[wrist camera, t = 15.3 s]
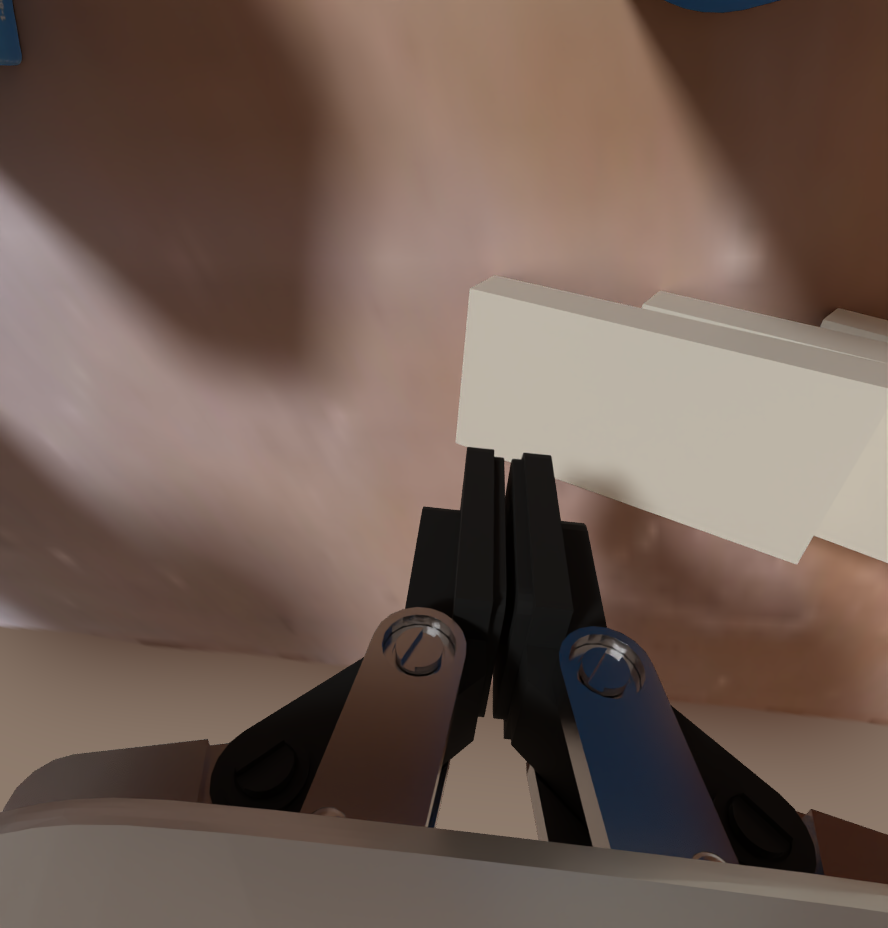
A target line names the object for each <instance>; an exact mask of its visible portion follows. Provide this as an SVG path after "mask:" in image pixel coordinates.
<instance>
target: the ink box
mask: <svg viewBox="0 0 888 928" xmlns="http://www.w3.org/2000/svg"><path fill="white" fill-rule="evenodd" d="M21 61H22V53H21V49H20V44H19V38H18V31H17V25H16V20H15V15H14V10H13V3H12V0H0V65H8V66H11V65H19V64H20V63H21Z"/></svg>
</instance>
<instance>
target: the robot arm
mask: <svg viewBox="0 0 888 928" xmlns="http://www.w3.org/2000/svg"><path fill="white" fill-rule="evenodd" d="M492 675H493V718H496V719H504V739H511V745H512V746H513V747H514V748H515V749H516V750H517V751H518V752H519V753H520V755H521V756H522V757H523V758H524V759H525V760H526V761H527V763H526V771H527V780H528V786H529V791H530V796H531V802H532V807H533V812H534V818H535V823H536V828H537V834H538V839H539V840H530V839H522V838H514V837H505V836H496V835H488V834H480V833H471V832H463V831H454V830H446V829H437V828H436V823H437V819H438V815H439V811H440V806H441V802H442V797H443V792H444V788H445V784H446V779H447V775H448V770H449V765H450V759H452V758H453V757H454V756H455V755H456V754H458V753H459V752H460V751H461V750H462V749H464V748H465V747H466V746H467V745H468V744H470V743H471V742H472V741H473V740H474V734H475V729H476V724H477V718H478V717H484V715H485V711H486V706H487V700H488V695H489V690H490V685H491V680H492ZM0 928H888V835H887V834H883V833H881V832H878V831H875V830H872V829H869V828H866V827H863V826H860V825H857V824H854V823H851V822H848V821H845V820H842V819H839V818H837V817H833V816H831V815H828V814H824V813H822V812H819V811H816V810H813V809H811V810H810V811H809V812H808V813H807V814H803V813H800V812H797V811H795V809H794V808H793V807H792V806H791V805H790V804H789V803H788V802H787V801H786V800H785V799H784V798H783V797H782V796H781V795H780V794H779V793H778V792H776V791H775V790H774V789H773V788H771V787H770V786H769V785H768V784H767V783H765V782H764V781H763V780H762V779H760V778H759V777H758V776H756V774H754V773H753V772H752V771H751V770H749V769H748V768H747V767H746V766H744V765H743V764H742V763H741V762H740V761H738V760H737V759H736V758H735V757H733V756H732V755H731V754H730V753H729V752H727V751H726V750H725V749H724V748H723V747H721V746H720V745H719V744H718V743H716V742H715V741H714V740H713V739H712V738H710V737H709V736H708V735H706V734H705V733H704V732H703V731H702V730H701V729H699V728H698V727H697V726H695V725H694V724H693V723H692V722H691V721H689V720H688V719H687V718H686V717H684V716H683V715H682V714H681V713H680V712H678V711H677V710H676V709H675V708H673V707H672V706H671V705H670V703H669V701H668V698H667V696H666V694H665V691H664V689H663V687H662V684H661V682H660V680H659V677H658V675H657V673H656V670H655V668H654V666H653V664H652V662H651V660H650V659H649V657H648V655H647V654H646V652H645V651H644V650H643V649H642V648H641V647H640V646H639V645H638V644H637V643H636V642H635V641H634V640H632V639H630V638H629V637H627V636H626V635H624V634H622V633H620V632H618V631H615V630H612V629H609V628H607V626H606V621H605V616H604V611H603V606H602V601H601V596H600V591H599V586H598V581H597V576H596V571H595V566H594V560H593V555H592V550H591V545H590V540H589V535H588V531H587V527H586V525H585V524H584V523H575V522H565V521H561V519H560V512H559V505H558V498H557V491H556V484H555V477H554V470H553V463H552V457H551V455H543V454H533V453H523V455H522V459H512V461H511V465H510V471H509V477H508V483H507V489H506V495H505V475H504V458H502V457H494V449H485V448H475V447H467V454H466V463H465V472H464V481H463V489H462V498H461V507H460V510H451V509H442V508H432V507H423V509H422V515H421V520H420V526H419V532H418V538H417V543H416V549H415V555H414V561H413V567H412V572H411V578H410V584H409V590H408V595H407V601H406V607H405V609H402V610H400V611H398V612H395V613H393V614H391V615H389V616H388V617H387V618H386V619H385V620H383V621H382V622H381V623H380V625H379V626H378V628H377V629H376V631H375V633H374V635H373V637H372V639H371V642H370V644H369V647H368V649H367V652H366V654H365V656H364V657H363V658H362V659H360V660H359V661H357V662H355V663H354V664H352V665H351V666H349V667H347V668H346V669H344V670H342V671H341V672H339V673H338V674H336V675H334V676H333V677H331V678H330V679H328V680H326V681H325V682H323V683H321V684H320V685H318V686H317V687H315V688H313V689H312V690H310V691H309V692H307V693H305V694H304V695H302V696H300V697H299V698H297V699H296V700H294V701H292V702H291V703H289V704H288V705H286V706H284V707H283V708H281V709H279V710H278V711H276V712H275V713H273V714H271V715H270V716H268V717H267V718H265V719H263V720H262V721H260V722H258V723H257V724H255V725H254V726H252V727H250V728H249V729H247V730H246V731H244V732H243V733H241V734H240V735H239V736H238V737H236V738H235V739H234V740H233V741H231V742H230V743H226V744H217V745H210V744H209V741H208V739H204V740H197V741H196V740H195V741H187V742H178V743H170V744H160V745H152V746H143V747H135V748H126V749H117V750H108V751H101V752H100V751H99V752H91V753H82V754H74V755H70V756H66V757H63V758H59V759H55V760H53V761H51V762H49V763H48V764H46V765H44V766H43V767H41V768H39V769H37V770H36V771H34V772H33V773H32V774H31V775H30V776H29V777H27V778H26V779H25V780H24V781H23V782H22V783H21V784H20V785H19V786H18V787H17V788H16V790H15V791H14V793H13V794H12V796H11V797H10V799H9V801H8V802H7V804H6V806H5V807H4V810H3V812H0Z"/></svg>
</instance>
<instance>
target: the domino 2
mask: <svg viewBox="0 0 888 928" xmlns="http://www.w3.org/2000/svg"><path fill="white" fill-rule="evenodd" d="M642 308H643V309H647V310H652V311H656V312H661V313H665V314H669V315H674V316H678V317H683V318H687V319H692V320H696V321H701V322H705V323H709V324H714V325H718V326H723V327H727V328H732V329H736V330H741V331H745V332H749V333H754V334H758V335H763V336H767V337H772V338H776V339H781V340H785V341H789V342H794V343H798V344H803V345H807V346H812V347H816V348H821V349H825V350H829V351H834V352H838V353H843V354H847V355H852V356H856V357H861V358H865V359H869V360H874V361H878V362H883V363H887V364H888V343H886V342H882V341H878V340H873V339H869V338H864V337H860V336H856V335H851V334H847V333H843V332H838V331H834V330H830V329H825V328H821V327H817V326H812V325H808V324H803V323H799V322H795V321H790V320H786V319H782V318H777V317H773V316H769V315H764V314H760V313H756V312H751V311H747V310H742V309H738V308H734V307H729V306H725V305H721V304H716V303H712V302H708V301H703V300H699V299H695V298H690V297H686V296H681V295H677V294H673V293H668V292H664V291H659V292H658V293H656V294H655V295H654V296H652V297H651V298H650V299H649V300H647V301H646V302H645V303H644V304H643V306H642ZM814 536H817V537H819V538H822V539H825V540H827V541H830V542H833V543H835V544H838V545H841V546H843V547H846V548H849V549H851V550H854V551H857V552H859V553H862V554H865V555H867V556H870V557H873V558H875V559H878V560H881V561H884V562H886V563H888V409H887V411H886V413H885V414H884V416H883V418H882V419H881V421H880V423H879V425H878V426H877V428H876V430H875V431H874V433H873V435H872V437H871V438H870V440H869V442H868V443H867V445H866V447H865V449H864V450H863V452H862V454H861V455H860V457H859V459H858V461H857V462H856V464H855V466H854V467H853V469H852V471H851V473H850V474H849V476H848V478H847V479H846V481H845V483H844V485H843V486H842V488H841V490H840V491H839V493H838V495H837V497H836V498H835V500H834V502H833V503H832V505H831V507H830V509H829V510H828V512H827V514H826V515H825V517H824V519H823V521H822V522H821V524H820V526H819V527H818V529H817V531H816V533H815V534H814Z"/></svg>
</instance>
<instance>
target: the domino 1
mask: <svg viewBox="0 0 888 928" xmlns="http://www.w3.org/2000/svg"><path fill="white" fill-rule="evenodd" d="M887 409H888V364H887V363H883V362H878V361H874V360H869V359H865V358H861V357H856V356H852V355H847V354H843V353H838V352H834V351H829V350H825V349H821V348H816V347H812V346H807V345H803V344H798V343H794V342H789V341H785V340H781V339H776V338H772V337H767V336H763V335H758V334H754V333H749V332H745V331H741V330H736V329H732V328H727V327H723V326H718V325H714V324H709V323H705V322H701V321H696V320H692V319H687V318H683V317H678V316H674V315H669V314H665V313H661V312H656V311H652V310H647V309H643V308H638V307H634V306H629V305H625V304H621V303H616V302H612V301H607V300H603V299H598V298H594V297H589V296H585V295H581V294H576V293H572V292H567V291H563V290H558V289H554V288H549V287H545V286H541V285H536V284H532V283H527V282H523V281H518V280H514V279H509V278H505V277H501V276H496V275H494V276H492V277H490V278H489V279H487V280H485V281H483V282H481V283H479V284H477V285H475V286H473V287H472V288H470V292H469V303H468V314H467V325H466V336H465V347H464V357H463V368H462V379H461V390H460V401H459V412H458V423H457V434H456V443H457V444H460V445H463V446H466V447H475V448H485V449H494V457H502V458H504V460H505V461H508V462H511V461H512V459H522V455H523V453H533V454H543V455H551V457H552V463H553V470H554V477H555V478H556V479H558V480H561V481H564V482H567V483H570V484H572V485H575V486H578V487H581V488H584V489H586V490H589V491H592V492H595V493H598V494H600V495H603V496H606V497H609V498H612V499H614V500H617V501H620V502H623V503H626V504H628V505H631V506H634V507H637V508H640V509H642V510H645V511H648V512H651V513H654V514H656V515H659V516H662V517H665V518H668V519H670V520H673V521H676V522H679V523H682V524H684V525H687V526H690V527H693V528H696V529H698V530H701V531H704V532H707V533H710V534H712V535H715V536H718V537H721V538H724V539H726V540H729V541H732V542H735V543H738V544H740V545H743V546H746V547H749V548H752V549H754V550H757V551H760V552H763V553H766V554H768V555H771V556H774V557H777V558H780V559H782V560H785V561H788V562H791V563H794V564H796V565H797V563H798V562H799V560H800V558H801V556H802V555H803V553H804V551H805V550H806V548H807V546H808V545H809V543H810V541H811V539H812V538H813V536H814V534H815V533H816V531H817V529H818V527H819V526H820V524H821V522H822V521H823V519H824V517H825V515H826V514H827V512H828V510H829V509H830V507H831V505H832V503H833V502H834V500H835V498H836V497H837V495H838V493H839V491H840V490H841V488H842V486H843V485H844V483H845V481H846V479H847V478H848V476H849V474H850V473H851V471H852V469H853V467H854V466H855V464H856V462H857V461H858V459H859V457H860V455H861V454H862V452H863V450H864V449H865V447H866V445H867V443H868V442H869V440H870V438H871V437H872V435H873V433H874V431H875V430H876V428H877V426H878V425H879V423H880V421H881V419H882V418H883V416H884V414H885V413H886V411H887Z"/></svg>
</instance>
